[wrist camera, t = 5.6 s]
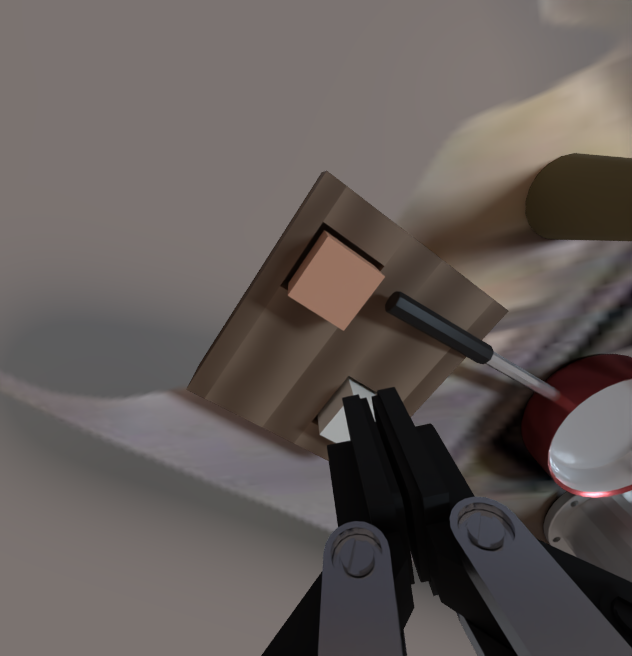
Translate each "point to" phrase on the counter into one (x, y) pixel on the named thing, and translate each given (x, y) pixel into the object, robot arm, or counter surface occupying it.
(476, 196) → the counter surface
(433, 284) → the brown wooden flat board
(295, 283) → the terracotta key
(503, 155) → the counter surface
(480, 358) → the frying pan
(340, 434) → the cream key
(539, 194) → the olive brown rounded cylinder
